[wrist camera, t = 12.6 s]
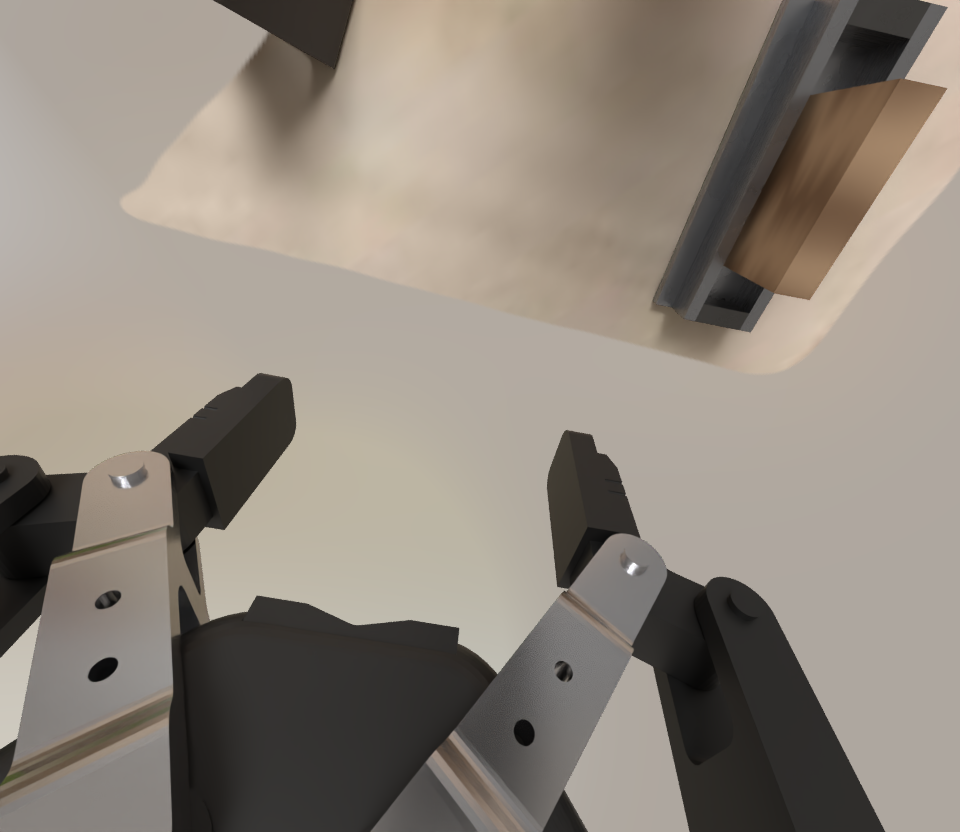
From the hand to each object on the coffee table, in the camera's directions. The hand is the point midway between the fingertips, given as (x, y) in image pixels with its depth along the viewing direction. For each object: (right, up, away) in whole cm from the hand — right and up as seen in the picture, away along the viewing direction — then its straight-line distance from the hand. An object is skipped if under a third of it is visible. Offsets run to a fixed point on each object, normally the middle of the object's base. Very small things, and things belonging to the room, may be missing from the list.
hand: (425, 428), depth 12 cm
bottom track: (+24, +18, +20) cm, 36 cm away
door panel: (+24, +18, +19) cm, 35 cm away
